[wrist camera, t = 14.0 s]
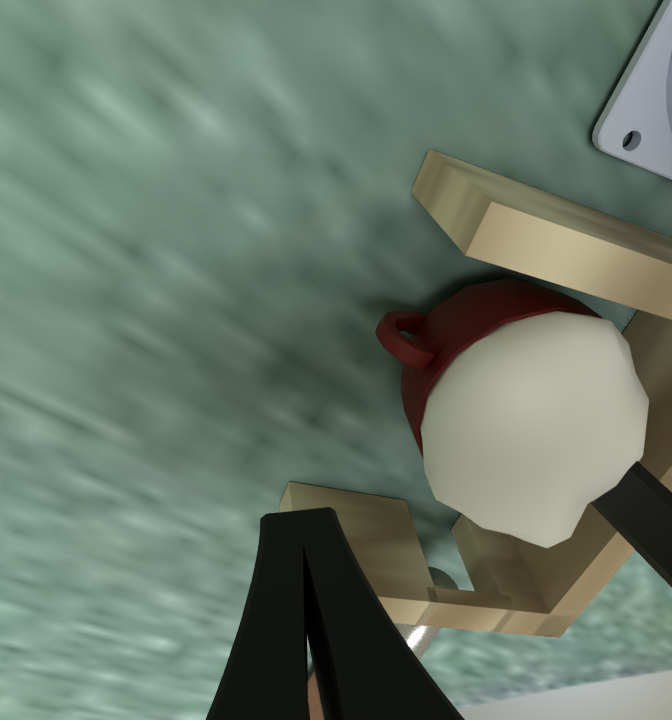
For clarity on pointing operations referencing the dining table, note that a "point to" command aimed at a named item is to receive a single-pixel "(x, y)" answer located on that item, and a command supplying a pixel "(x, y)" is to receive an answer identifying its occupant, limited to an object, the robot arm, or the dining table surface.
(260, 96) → the dining table surface
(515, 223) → the dock
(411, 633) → the lock pin
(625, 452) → the cocoa
